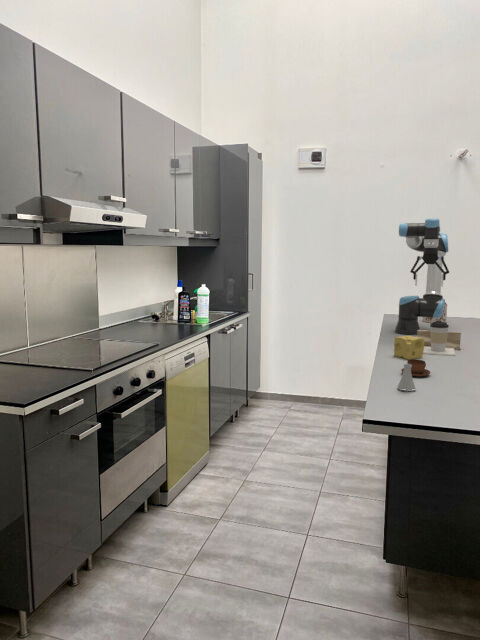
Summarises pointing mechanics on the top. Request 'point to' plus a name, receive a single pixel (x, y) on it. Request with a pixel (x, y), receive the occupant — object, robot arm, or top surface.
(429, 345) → the wooden screen
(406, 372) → the flask
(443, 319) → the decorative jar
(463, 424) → the top surface
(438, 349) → the coffee cup
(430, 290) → the robot arm
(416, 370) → the cup and saucer
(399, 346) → the cheese
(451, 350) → the display pad
